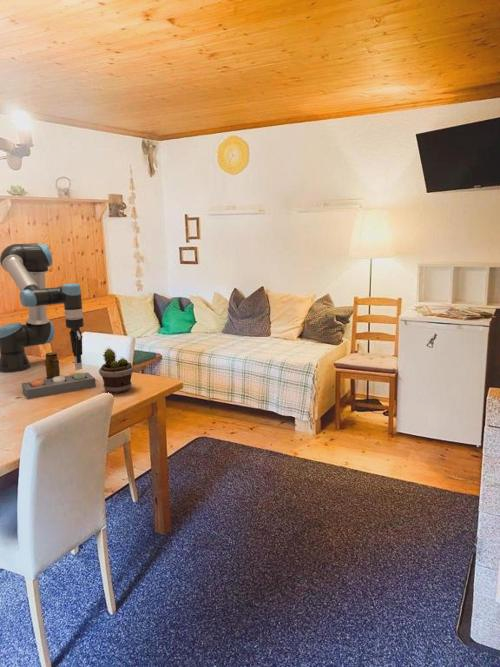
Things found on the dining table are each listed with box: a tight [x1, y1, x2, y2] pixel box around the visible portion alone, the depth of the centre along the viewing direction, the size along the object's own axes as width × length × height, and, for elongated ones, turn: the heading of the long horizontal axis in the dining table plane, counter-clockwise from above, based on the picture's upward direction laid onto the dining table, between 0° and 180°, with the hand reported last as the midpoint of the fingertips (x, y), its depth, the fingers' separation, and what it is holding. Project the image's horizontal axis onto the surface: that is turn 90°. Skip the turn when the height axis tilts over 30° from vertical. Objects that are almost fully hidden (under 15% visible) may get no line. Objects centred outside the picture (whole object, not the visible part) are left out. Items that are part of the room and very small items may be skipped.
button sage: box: [72, 372, 86, 380], centre depth 226 cm, size 5×5×4 cm
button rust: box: [30, 379, 44, 387], centre depth 216 cm, size 5×5×4 cm
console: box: [21, 372, 97, 400], centre depth 222 cm, size 12×29×4 cm, turn 124°
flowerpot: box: [98, 347, 135, 394], centre depth 218 cm, size 14×15×20 cm
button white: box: [53, 375, 65, 383], centre depth 221 cm, size 5×5×4 cm
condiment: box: [43, 352, 61, 379], centre depth 239 cm, size 7×8×12 cm
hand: (78, 369), depth 225 cm, fingers closed
